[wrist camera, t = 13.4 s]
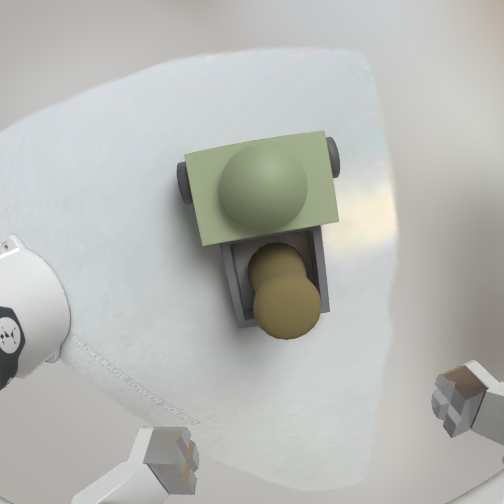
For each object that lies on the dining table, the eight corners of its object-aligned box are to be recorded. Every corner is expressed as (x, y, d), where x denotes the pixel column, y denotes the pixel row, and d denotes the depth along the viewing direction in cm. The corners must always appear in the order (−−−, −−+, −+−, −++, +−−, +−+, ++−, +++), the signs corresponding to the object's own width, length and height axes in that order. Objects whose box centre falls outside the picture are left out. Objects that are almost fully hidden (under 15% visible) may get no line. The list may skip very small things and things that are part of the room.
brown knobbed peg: (257, 304, 33) (261, 360, 22) (240, 252, 31) (236, 290, 20) (310, 287, 32) (338, 337, 21) (296, 235, 31) (321, 265, 20)
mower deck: (218, 321, 33) (212, 350, 27) (183, 161, 29) (167, 156, 23) (344, 298, 32) (363, 322, 26) (323, 136, 28) (341, 127, 22)
